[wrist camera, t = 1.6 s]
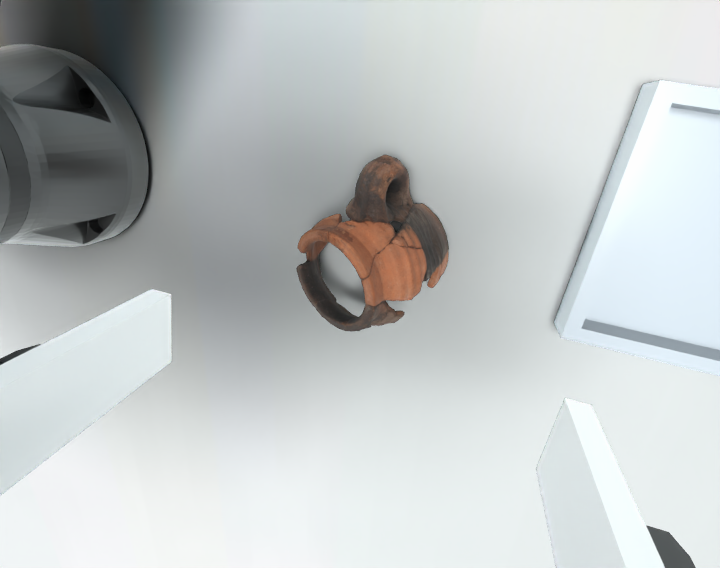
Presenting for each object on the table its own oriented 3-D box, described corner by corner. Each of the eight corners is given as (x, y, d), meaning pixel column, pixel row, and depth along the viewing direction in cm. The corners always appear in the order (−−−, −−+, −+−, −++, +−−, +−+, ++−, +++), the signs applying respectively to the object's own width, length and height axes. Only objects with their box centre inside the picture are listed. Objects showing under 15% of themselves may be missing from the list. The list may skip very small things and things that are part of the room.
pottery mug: (451, 310, 33) (384, 367, 28) (358, 267, 38) (287, 309, 33) (475, 153, 26) (393, 189, 21) (359, 127, 31) (271, 151, 26)
